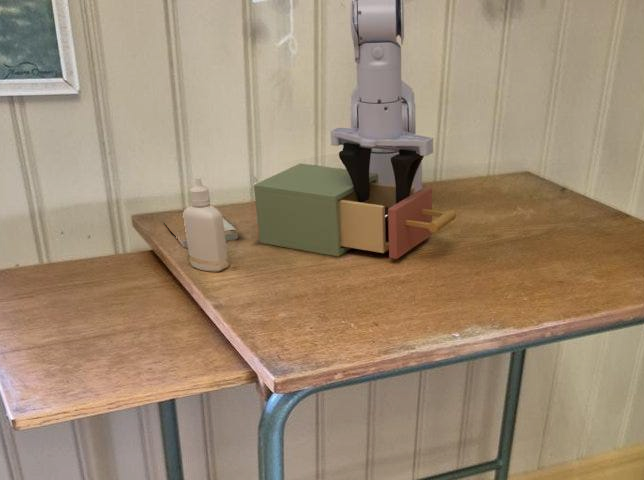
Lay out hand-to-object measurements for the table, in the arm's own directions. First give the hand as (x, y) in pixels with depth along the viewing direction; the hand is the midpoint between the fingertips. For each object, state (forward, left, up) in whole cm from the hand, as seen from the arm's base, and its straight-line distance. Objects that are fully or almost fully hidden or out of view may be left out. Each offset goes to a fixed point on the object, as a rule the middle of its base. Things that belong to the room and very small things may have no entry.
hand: (382, 203), depth 126 cm
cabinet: (+3, -10, -6) cm, 12 cm away
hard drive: (+13, -26, -6) cm, 30 cm away
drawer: (0, +1, -5) cm, 6 cm away
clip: (0, 0, -4) cm, 4 cm away
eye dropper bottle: (+21, -13, -6) cm, 25 cm away
